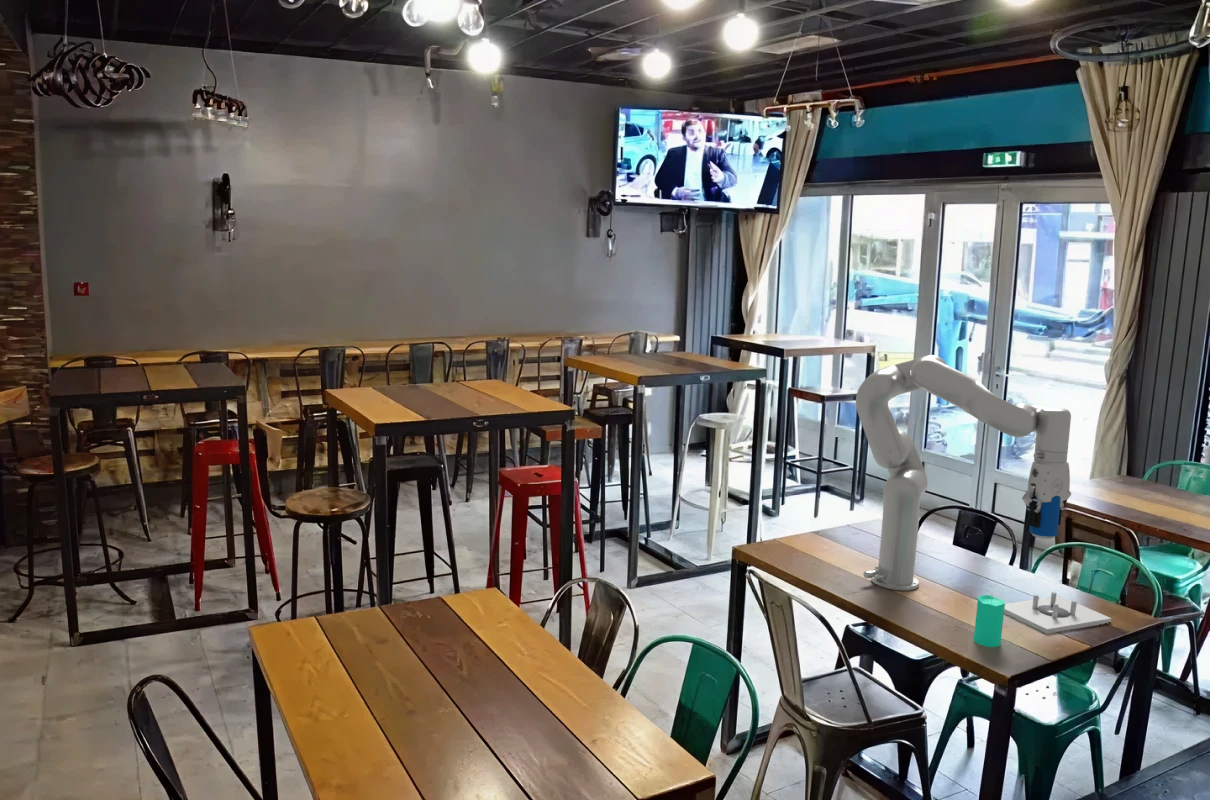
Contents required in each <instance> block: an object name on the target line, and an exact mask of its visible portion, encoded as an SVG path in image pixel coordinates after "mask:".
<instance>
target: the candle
mask: <svg viewBox="0 0 1210 800" xmlns="http://www.w3.org/2000/svg"><path fill="white" fill-rule="evenodd" d="M1005 604H1006V602H1005V600H1003V599H1000V598H998V597H997V596H993V595H989V594H983V595H982V594H981V595H979V596H978V597H977V603H976V614H975V622H974V623H975V625H974V633H973V641H974V642H975V644H976V645H979V646H980V645H981V646H983V647H988V648H998V647H1000V646H1001V643H1002V635H1003V634H1002V633H1003V626H1004V625H1003V623H1004V617H1005V616H1004V615H1005V613H1004V609H1005Z"/></svg>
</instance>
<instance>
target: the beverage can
mask: <svg viewBox="0 0 1210 800" xmlns="http://www.w3.org/2000/svg"><path fill="white" fill-rule="evenodd" d="M1055 494H1056V493H1055ZM1035 499H1037V497H1036V496H1035ZM1060 499H1061V498H1060V496H1054V497H1053V498H1052V499H1051V502H1049V503H1042V506H1041V508H1040V511H1039V512H1040V513H1041V520H1040V527H1039V528H1036V527H1033V526H1030V525H1029V533H1030V534H1032V536H1033V537H1035V538H1038V539H1044V540H1051V539H1054V538H1055V537H1057V536H1058V531H1059V525H1058V522H1059V512H1060ZM1034 504H1035V506H1036V505H1037V502H1035V503H1034Z"/></svg>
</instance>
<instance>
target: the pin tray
mask: <svg viewBox="0 0 1210 800" xmlns="http://www.w3.org/2000/svg"><path fill="white" fill-rule="evenodd" d="M1039 597H1040V596H1039V595H1038V594H1034V595H1033V597H1032V598H1033V599H1030V600H1029V599H1028V600H1023V601H1015V602H1009V603H1005V609H1004V615H1007V616H1009V617H1011V618H1013V619H1014V620H1017V621H1019V622H1022V623H1024V624H1025V625H1027V626H1030V627H1032V628H1034V629H1035V630H1038V631H1040V632H1042V633H1044V634H1047V635H1048V634H1053V633H1059V631H1060V632H1064V631H1065V630H1066V631H1070V630H1071V629H1072V630H1077V629H1083V628H1087V627H1094V626H1100V624H1101V625H1105V623H1107V624H1109V623H1108V622H1111V623H1112V617H1109V616H1107V615H1105V614H1102V613H1100V612H1098V611H1096V610H1093V609H1091V608H1089V607H1086V606H1084V605H1082V604H1079V603H1078V602H1077V601H1076V600H1070V599H1068V598H1066V597H1063V596H1061V595H1057V592H1054V591H1052V592H1051V595H1050V597H1049V596H1048V597H1042V598H1039ZM1072 630H1071V631H1072ZM1066 631H1065V632H1066Z"/></svg>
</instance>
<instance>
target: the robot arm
mask: <svg viewBox="0 0 1210 800" xmlns="http://www.w3.org/2000/svg"><path fill="white" fill-rule="evenodd" d="M918 390H923V391H925V392H927V393H929V394H931V395H933V396H936V397H938V398H940V399H942V400H943V401H945V402H948V403H950V404H951V405H954V406H956V407H958V408H959V409H961V410H963V411H964V412H966V413H967V414H969V415H970V416H972V417H973V418H976V419H977V420H978V421H980V422H982V423H984V424H985V425H987V426H989V427H992V428H993V429H996V430H997V431H999V432H1000V433H1003V434H1006V435H1007V436H1010V437H1014V438H1024V437H1027V436H1029V435H1030V434H1031V433H1034V432H1035V434H1036V435H1035V441H1034V442H1035V443H1034V444H1035V445H1034V454H1033V461H1032V464H1031V468H1030V471H1029V476H1028V481H1027V482H1028V484H1027V490H1026V492H1025V493H1024V494H1023V496H1022V497H1021V499H1022V501H1023V503H1024V504H1025V506H1026V507H1027V511H1028V520H1027V524H1028V526H1029V527H1030V526H1033V527H1036V528H1039V527H1040V520H1041V513H1040V512H1039V511H1040V508H1041V506H1042V503H1049V502H1051V499H1052V498H1053V497H1054V496H1060V498H1061V499H1060V512H1059V522H1058V526H1060V525H1061V522H1062V512H1063V510H1064V508H1065V505H1066V503H1068V500H1069V498H1070V497H1071V496H1072V491H1070V487H1071V485H1070V483H1071V481H1070V480H1071V473H1070V463H1069V462H1068V461H1067V459H1068V452H1069V444H1070V443H1069V442H1070V431H1071V424H1072V423H1071V421H1072V415H1071V412H1070V410H1068V409H1067V408H1062V407H1054V406H1046V407H1044V406H1040V405H1034V404H1029V403H1024V402H1020V403H1016V404H1013V403H1011V402H1009V401H1006V400H1004V399H1003V398H1000V397H999V396H998V395H996V394H995V393H992V392H991V391H990V390H989V389H987V387H986V386H985V385H984V384H983V383H982V382H981V381H980V380H978V379H977V378H975V377H973V376H971V375H969V374H966V373H964V372H962V371H960V370H958V369H956V368H954V367H952V366H950V365H948V364H947V363H946V361H945V360H944V359H943V358H942V357H940V356H938V355H934V354H929V355H924V356H921V357H918V358H915V359H910V360H908V361H903V362H900V363H896V364H892V365H889V366H885V367H883V368H881V369H877V370H876V371H874V372H872V373H871V374H869V375H868V377H866V378H865V379H864V380H863V382H862V383H861V384H860V385H859V387H858V389H857V392H856V395H855V408H856V411H857V415H858V417H859V420H860V422H861V425H862V429H863V430H864V431H863V432H864V434H865V437H866V439H867V442H868V445H869V448H870V451H871V453H872V457H873V459H874V461H875V463H877V465H878V466H879V467H881V468H883V469H887V471H888V474H889V477H888V479H886V481H885V483H884V487H883V490H882V491H883V492H882V507H883V508H882V520H881V521H882V522H881V533H880V543H879V545H880V546H879V555H878V556H879V557H878V565H877V564H876V565H875V567H874V569H872V570H865V571H864V572H863V577H864V578H865V579H871V582H873V584H874V585H876V584H877V585H876V586H878V587H882V588H884V589H888V590H892V591H894V590H895V591H903V592H904V591H905V592H906V591H913V590H915V589H917V588H919V586H920V581H919V580H918V579H917V577H914V575H915V565H916V556H917V544H918V537H919V536H918V533H919V522H920V504H921V498H922V496H923V495H924V494H925V492H926V490H927V489H928V478H927V474H926V471H925V469H924V466H923V463H922V461H921V458H920V455H919V452H918V450H917V448H916V445H915V443H914V441H913V440H912V437H911V436H910V435H909V434H908V433H907V432H906V431H903V430H901V429H899V428H898V426H897V424H896V421H895V418H894V415H893V414H892V412H891V410H890V408H889V401H890V400H891V399H894V398H895V397H897V396H901V395H903V394H906V393H911V392H915V391H918ZM1055 493H1056V494H1055ZM1035 496H1036V497H1037V499H1035ZM1035 502H1037V505H1036V506H1035V504H1034V503H1035Z"/></svg>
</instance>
